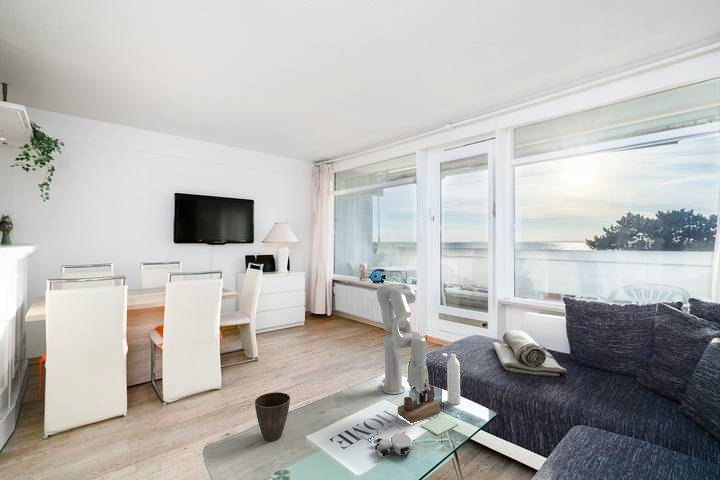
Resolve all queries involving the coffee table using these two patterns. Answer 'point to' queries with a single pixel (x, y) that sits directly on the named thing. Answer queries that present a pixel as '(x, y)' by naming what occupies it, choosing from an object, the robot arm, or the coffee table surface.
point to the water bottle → (453, 379)
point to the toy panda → (394, 445)
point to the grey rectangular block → (416, 395)
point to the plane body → (419, 408)
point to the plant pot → (272, 414)
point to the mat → (439, 425)
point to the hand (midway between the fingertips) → (418, 399)
